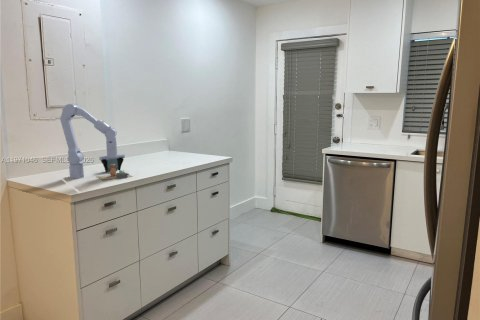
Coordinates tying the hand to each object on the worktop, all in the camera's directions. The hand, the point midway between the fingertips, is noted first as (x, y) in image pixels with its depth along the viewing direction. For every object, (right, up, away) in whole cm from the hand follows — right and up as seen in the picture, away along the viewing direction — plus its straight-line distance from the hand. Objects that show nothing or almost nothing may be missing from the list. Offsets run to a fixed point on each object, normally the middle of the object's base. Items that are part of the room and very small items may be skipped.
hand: (112, 170), depth 218 cm
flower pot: (-7, -1, +18) cm, 19 cm away
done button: (+6, -2, -3) cm, 7 cm away
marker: (0, -3, +1) cm, 3 cm away
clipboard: (+1, -4, -1) cm, 4 cm away
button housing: (+6, -4, -2) cm, 8 cm away
